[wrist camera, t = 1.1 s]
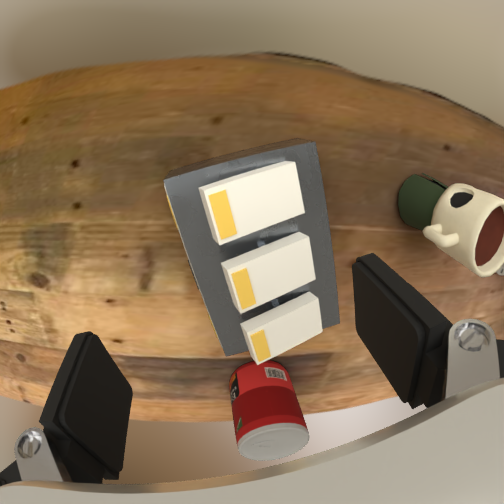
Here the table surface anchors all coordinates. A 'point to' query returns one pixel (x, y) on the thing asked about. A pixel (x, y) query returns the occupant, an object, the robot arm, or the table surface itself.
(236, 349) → the console
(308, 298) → the rocker
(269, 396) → the canned food
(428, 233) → the character mug
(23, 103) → the table surface
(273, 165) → the rocker
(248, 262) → the rocker
